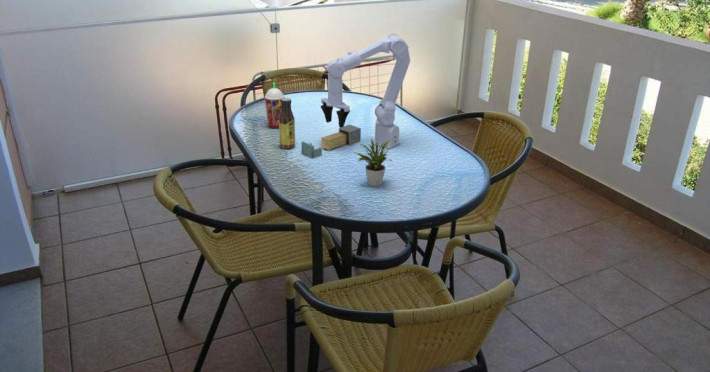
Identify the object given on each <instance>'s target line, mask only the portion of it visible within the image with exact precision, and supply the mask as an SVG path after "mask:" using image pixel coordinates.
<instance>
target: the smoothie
mask: <svg viewBox="0 0 710 372" xmlns="http://www.w3.org/2000/svg"><path fill="white" fill-rule="evenodd" d="M272 85H273V86H272V87H271V88H269V89H268V90H267V92H266V94H265V95H264V101H265V109H266V110H265V111H266V118H267V120H266V121H267V124H268V126H269V128H272V129H279V115H280V113H281V111H282V103H281V99H283V98H285V95H284V94H283V92H282V90H281V89H279V88H277V87H275V86H276V83H275V81H273V82H272Z"/></svg>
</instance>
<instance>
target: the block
mask: <svg viewBox="0 0 710 372" xmlns="http://www.w3.org/2000/svg"><path fill="white" fill-rule="evenodd" d="M348 135H349V133H347V132H345V131H340V132H339V131H338V132H335V133H332V134H328V135H326V136H322V137H321V141H320V142H321V143H320V144H321V147H322V149H326V150H332V149H334V148H336V147H340V146H343V145H347V144H346V143H348Z"/></svg>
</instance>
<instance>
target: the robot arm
mask: <svg viewBox="0 0 710 372" xmlns="http://www.w3.org/2000/svg"><path fill="white" fill-rule="evenodd" d="M390 52H391V54H392V55H393V57H394V59H395V64H394V67H393V70H392V73H391V75H390V78H389V80H388V84H387V87H386V90H385V93H384V94H383V95H384V96H383V98H382V99H380V101H379V104H378V105H377V106H376V107H375V108H374V115H375V116H376V120H375V127H374V128H375V129H374V131H375V132H374V140H373V142H374V146H376V144H375V142H376V143H377V142H378V147H380V146H381V145H382V144H383V143H384V142H387V141H388V140H391V139H392V140H391V141H389V143H388V144H389V145H388V144H387V145H388V147H387V145H386V147H387V148H386V147H385V148H386V149H388V148H389V149H392V148H395V146H398V145H399V144H400V139H399V138H400V128H399V126H398V125H396V124H395V123H394V122H395V119H396V117H395V113H396V110H397V109H396V102H397V99H398V96H399V93H400V91H401V88H402V85H403V82H404V80H405V77H406V74H407V71H408V69H409V66H410V63H411V57H410V52H409V45H408V44H407V43H406V41H405V40H404V38H403V39H402V37H400V36H399V35H398V34H396V33H391V34H389V35H387V36H383V37H382V38H380V39H379V40H377V41H375V42H374V43H372V44H370V45H368V46H367V47H365V48H363V49H361V50H359V51H355V50H353V51H351V50H349V51H348V52H347V54H345V55H343V56H341V57H337V58H336V59H332V60H330V61H329V62H328V63H327V66H326V70H327V72H328V73H327V78H328V80H327V97H324V98H320V100H321V101H320V103H321V104H322V105H320V109H321V110H322V112H323V115H324V117H325V122H326V123H331V122H332V119H333V117H332V116H333V109H334V108H335V109H338V110H336V111H335V112H336V114H337V119H338V127H339V128H341V127H344V126H345V125H346V120H347V118H348V115H350V113H351V110H350V105H348V104H346V103H345V102H343V86H344V85H343V84H344V83H343V76H344V73H346V72H349V71H351V70H352V69H354V68H356V67H358V66H360V65H361V63H362V61H363V60H365V59H368V58H370V57H372V56H375V55H377V54H379V53H385V54H390ZM384 144H385V143H384ZM384 144H383V145H384ZM383 145H382V147H383ZM382 147H381V148H382ZM385 148H384V149H385ZM389 149H388V150H389Z"/></svg>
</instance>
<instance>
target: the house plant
mask: <svg viewBox="0 0 710 372" xmlns="http://www.w3.org/2000/svg"><path fill="white" fill-rule="evenodd" d="M369 139H370V144H371V145H370V144H369V143H366V144H367V145H368V146H369V147H370V149H369V147H368V146H367V145H365V144H363V143H360V142H358V143H357V144H359V146H360V147H361V146H362V147H363V148H365V149H364V150H365V151H366V155H365V154H363V153H360V152H355V151H354V152H353V153H354V154H355V155H357V156H359V157H358V159H357V161H356V162H357V163H358V162H360V161H361V162H362V161H365V162H366V163H368V164H366V165H365V175H366V180H367V185H369V186H371V187H380V186H382V184H383V180H384V176H385V173H386V166H385V165H384V164H383V163H384V162H385V161H388V159H387V158H388V157H386V156H388V154H387V153H388V152H389V148H387V147H388V145H389V144H388V143H389V141H391V140H392V139H391V140H388V141H387V142H384V143H385V144H384V143H383V144H384V145H383V144H382V145H383V147H382V145H381V146H378V142H377V143H376V142H375V144H376V145H374V142H373V141H374V140H373V139H372V137H369ZM387 144H388V145H387ZM386 145H387V147H386ZM385 147H386V148H385ZM389 161H390V162H393V160H392V159H389Z"/></svg>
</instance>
